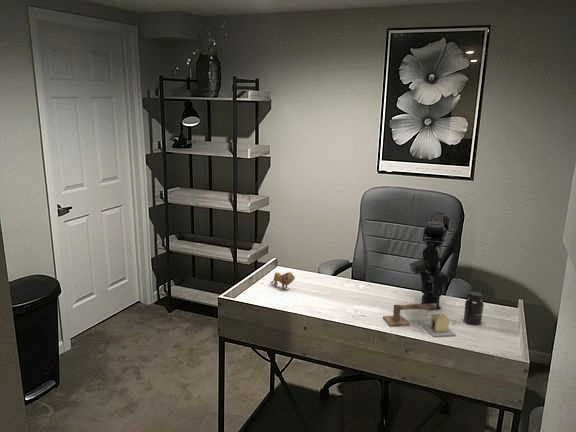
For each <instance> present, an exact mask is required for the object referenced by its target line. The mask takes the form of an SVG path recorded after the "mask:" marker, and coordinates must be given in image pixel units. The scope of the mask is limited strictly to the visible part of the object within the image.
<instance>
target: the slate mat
mask: <svg viewBox="0 0 576 432" xmlns="http://www.w3.org/2000/svg"><path fill="white" fill-rule="evenodd" d="M430 326H431V324H429V325H427V324H426V325H425V324H424V325H423V326H422V328H424V330H426V332H428V333H429V335H430V336H431V337H433V338H447V337H456V335H457V334H456V333H454V332H453V331H452V330H451V329H450V328H448V332H444V333H435V332H434V330H435V329H431V328H430Z"/></svg>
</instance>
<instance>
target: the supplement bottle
mask: <svg viewBox="0 0 576 432" xmlns="http://www.w3.org/2000/svg"><path fill="white" fill-rule="evenodd" d="M482 299H483V294H482V293H481V292H476V291H470V292H469V295H468V297H467V299H466V300H465V304H464V305H465V306H464V313H463V322H465V323H467V324H468V325H472V326H478V325H481V324H482V320H483V312H484V306H485V305H484V302H483V300H482Z"/></svg>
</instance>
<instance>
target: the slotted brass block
mask: <svg viewBox="0 0 576 432" xmlns="http://www.w3.org/2000/svg"><path fill="white" fill-rule="evenodd" d="M430 317H431V318H430V325H431V326H430V328H431V329H435V330H434V332H435V333H444V332H448V328H449V326H450V318H449V317H448V316H447V315H446V314H444V313H439V314H438V313H435V314H431V316H430ZM449 329H450V328H449Z"/></svg>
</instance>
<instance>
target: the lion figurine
mask: <svg viewBox="0 0 576 432" xmlns="http://www.w3.org/2000/svg"><path fill="white" fill-rule="evenodd" d="M295 279H296V276H295V275H294V274H293V272H292V271H290V272H289V271H288V272H286V273H283V274H281V273H280V272H275V274H274V275H273V280H272V281H271V282H270V284H273V287H274V286H275V287H274V288H277V285H278V284H279V283H280V284H281V291H282V290H285V291H286V289H285V288H288V286H289V285H291V283H293V281H295Z"/></svg>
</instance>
